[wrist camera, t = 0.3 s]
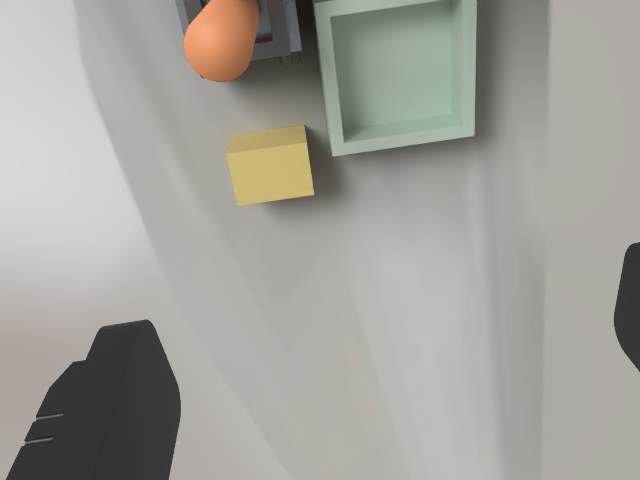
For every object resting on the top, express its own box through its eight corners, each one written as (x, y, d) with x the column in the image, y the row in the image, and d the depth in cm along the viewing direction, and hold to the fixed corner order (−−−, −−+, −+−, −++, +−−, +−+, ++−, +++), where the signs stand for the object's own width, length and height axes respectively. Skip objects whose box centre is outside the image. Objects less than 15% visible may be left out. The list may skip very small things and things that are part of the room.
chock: (230, 134, 36) (226, 154, 33) (304, 124, 36) (306, 142, 33) (241, 183, 38) (237, 205, 35) (311, 173, 38) (314, 194, 35)
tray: (310, -4, 32) (313, 3, 30) (461, -26, 32) (477, -21, 30) (328, 140, 37) (332, 156, 34) (460, 120, 37) (474, 135, 34)
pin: (208, -14, 27) (176, 16, 19) (256, -21, 27) (245, 6, 19) (219, 36, 28) (193, 86, 20) (264, 29, 28) (258, 76, 20)
